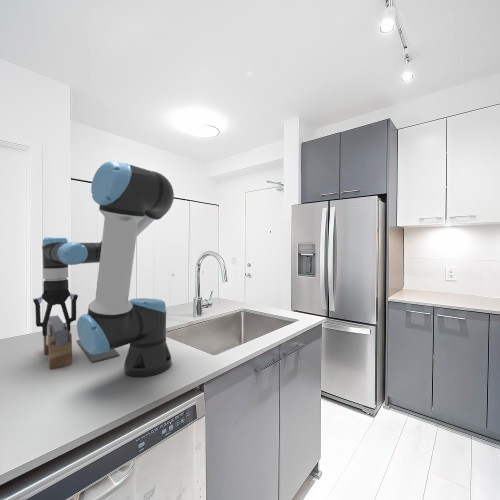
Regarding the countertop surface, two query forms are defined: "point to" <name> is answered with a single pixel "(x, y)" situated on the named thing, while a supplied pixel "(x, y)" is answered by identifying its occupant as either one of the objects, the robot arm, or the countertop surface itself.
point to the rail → (58, 330)
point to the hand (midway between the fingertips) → (57, 342)
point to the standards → (58, 352)
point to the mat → (99, 356)
